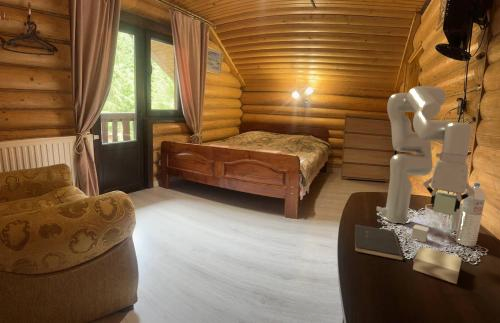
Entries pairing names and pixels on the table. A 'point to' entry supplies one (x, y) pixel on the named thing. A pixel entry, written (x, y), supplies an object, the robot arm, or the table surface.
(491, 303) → the table surface
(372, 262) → the table surface
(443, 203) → the sage cube
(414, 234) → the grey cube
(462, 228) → the water bottle
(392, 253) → the hardcover book
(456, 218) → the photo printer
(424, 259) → the birch block
